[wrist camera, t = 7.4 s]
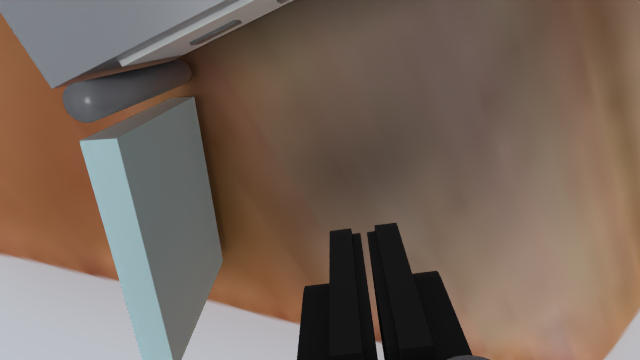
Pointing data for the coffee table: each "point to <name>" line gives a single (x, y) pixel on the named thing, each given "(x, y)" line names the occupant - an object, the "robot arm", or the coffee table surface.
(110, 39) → the housing
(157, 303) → the side door
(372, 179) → the coffee table surface
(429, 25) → the coffee table surface
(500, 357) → the coffee table surface
